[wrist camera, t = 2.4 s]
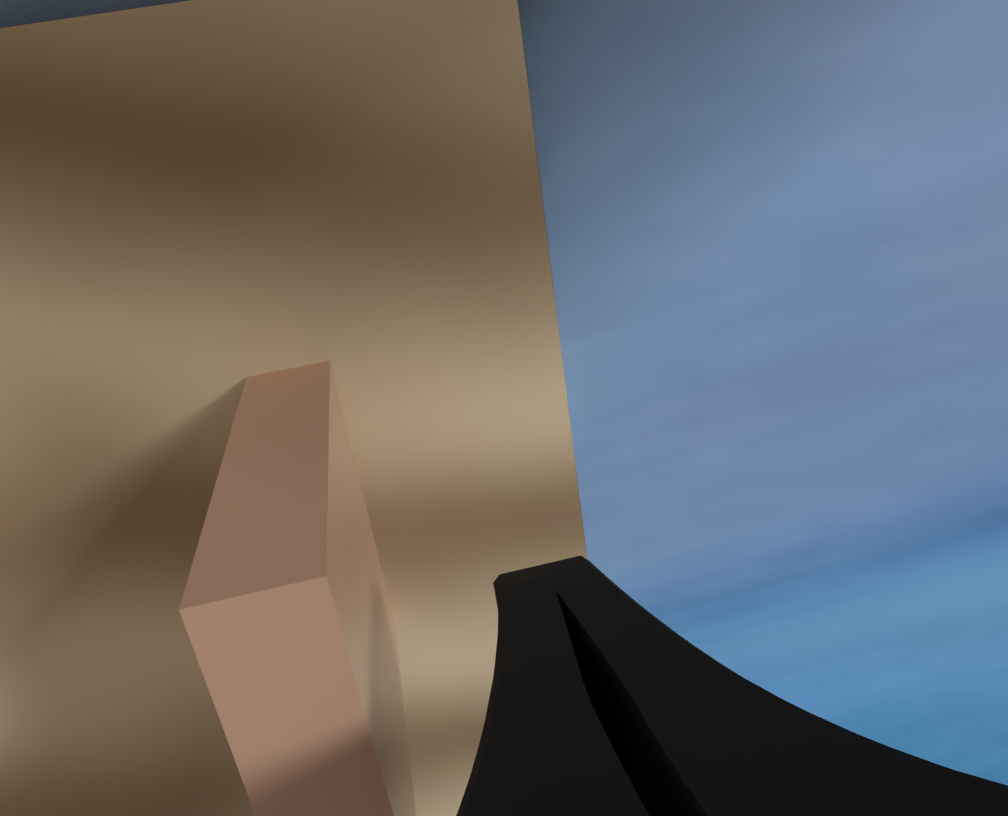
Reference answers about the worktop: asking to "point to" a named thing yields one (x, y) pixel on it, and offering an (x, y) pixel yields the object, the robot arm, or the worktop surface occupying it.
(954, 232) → the worktop surface
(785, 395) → the worktop surface
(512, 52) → the wooden board
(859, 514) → the worktop surface
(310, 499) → the tile
